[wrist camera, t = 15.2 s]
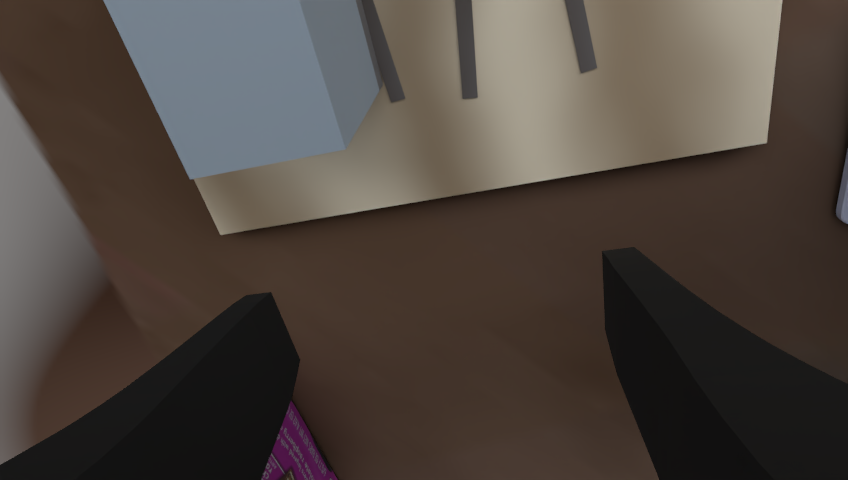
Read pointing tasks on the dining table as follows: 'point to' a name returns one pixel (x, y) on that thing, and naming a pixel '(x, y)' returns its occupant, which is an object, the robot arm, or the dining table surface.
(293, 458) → the candy bar box
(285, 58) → the block
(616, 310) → the robot arm
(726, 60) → the marked board
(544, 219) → the dining table surface
